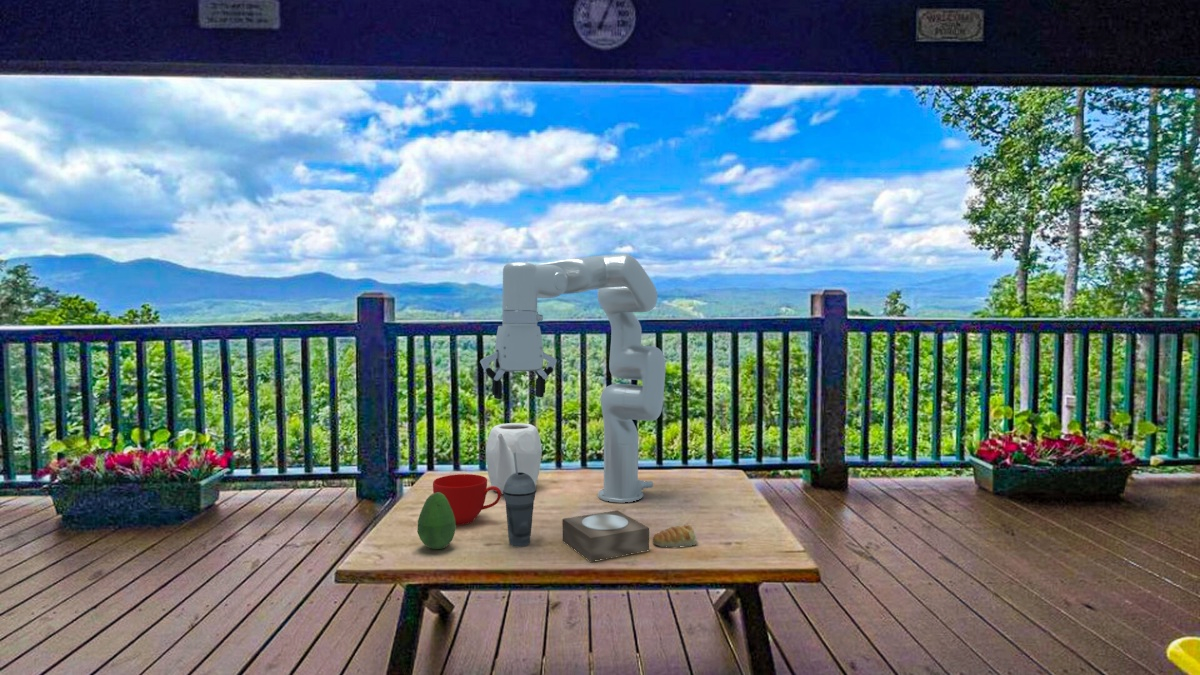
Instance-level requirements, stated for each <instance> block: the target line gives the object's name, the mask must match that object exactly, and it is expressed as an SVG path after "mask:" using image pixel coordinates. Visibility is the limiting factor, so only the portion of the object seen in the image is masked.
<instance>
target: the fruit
mask: <svg viewBox="0 0 1200 675" xmlns="http://www.w3.org/2000/svg"><path fill="white" fill-rule="evenodd" d="M456 529H457V525H456V523H455V517H454V514H453V511H452V509H451V507H450V504H449V502H448V500H447V498H446V497H445V495H444V494H442V493H440V492H436V493H431V494H430V495H429V496H428V497H427V498H426V499H425V502H424V504H423V506H422V509H421V510H420V513H419V516H418V519H417V531H416V532H417V535H418V537H419V539H420V541H421V542H422V544H424V546H426V547H428V548H430V549H433V550H442V549H444V548H447V546H449V544H451V542H452V541H453V539H454V537H455V534H456Z"/></svg>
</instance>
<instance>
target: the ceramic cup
mask: <svg viewBox="0 0 1200 675" xmlns="http://www.w3.org/2000/svg"><path fill="white" fill-rule="evenodd" d="M495 490H496V491H495ZM489 491H495V492H496V493H497V498H496V499H495V500H494V501H493V502H492V503H490V504H486V505H485V502H486V499H487V498H486V497H487V494H488V492H489ZM432 492H433V493H436V492H440V493H442V494H444V495H445V497H446V498H447V500H448V502H449V504H450V507H451V509H452V511H453V514H454V517H455V523H456V526H464V525H468V524H471V523H473V522H474V521H475V519H476V518H478V516H479V514H480V513H481V511H483V510H487V509H490V508H492V507H494V506H495V505H497V504H498V503H499V502H500V501H501V497H502V494H501V491H500V489H499V488H498V487H495V486H489V487H488V479H487V477H485V476H484V475H479V474H473V473H469V474H467V473H465V474H464V473H463V474H459V473H458V474H449V475H444V476H440V477H438V478H436V479H434V480H433V482H432ZM433 493H432V494H433Z"/></svg>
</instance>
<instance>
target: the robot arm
mask: <svg viewBox="0 0 1200 675" xmlns="http://www.w3.org/2000/svg"><path fill="white" fill-rule="evenodd" d="M594 290H597V300H598V303H599V305H600V307H601V309H602V310H603V312H604V313H605V314H606V315H605V316H606V317H607V319H608V321H609V323H610V324H609V325H610V329H611V331H610V332H611V335H610V348H609V349H610V350H609V361H608V362H609V364H608V365H609V372H610V374H611V376H612V377H614V378H617V379H622V380H633V381H642V382H641V383H642V384H641V385H639V384H628V383H613V384H609V385H608V386H606V387H605V388H604V389H603V391H602V392H601V395H600V407H601V412H602V417H603V418H602V419H603V438H604V439H603V489H600V490H599V491H598V493H597V494H598V495H597V497H598V498H599V499H600V500H602V501H604V502H608V501H609V502H610V503H616V504H617V503H620V504H626V503H625V502H628V503H634V502H633V501H635V502H637V501H636V500H639V499H641V498H642V497H643V498H644V492H643V490H644V489H651V488H653V487H654V483H653V480H643V479H642V480H641V479H639V433H638V429H637V426H636V425H635V423H634V421H633V420H635V421H646V422H652V421H657V419H658V418H659V417H660V416H661V413H662V410H663V408H664V406H663V404H664V396H665V395H664V392H665V381H666V380H665V379H666V359H665V354H664V353H663V351H662V350H661V349H660V348H659V347H656V346H652V345H642V326H641V323H640V321H639V319H638V317H637V316H636V315H635V314H634V313H648V312H651V311H653V309H654V308H655V307H656V305H657V302H658V291H657V288H656V286H655V284H654V282H653V281H652V279H651V278H650V276H649V274H647V272H646V271H645V269H644V267H643V266H642V265H641V264H640V262H639V261H638V260H637V259H636V258H635V257H634V256H632V255H630V254H627V253H622V254H621V253H620V254H619V253H618V254H616V253H615V254H603V255H602V254H601V255H593V256H586V257H585V256H584V257H576V258H575V257H574V258H570V259H569V258H568V259H562V260H556V261H552V262H545V263H534V264H533V263H531V262H517V261H516V262H515V261H514V262H508V263H506V264H505V265H503V268H502V317H501V318H502V325H498V327H497V332H496V336H495V345H494V346H495V347H494V352H493V353H491V354H489V355H487V356H485V357H484V358H481V359H480V361H479V363H480V364H481V367H482V369H483V371H484V373H485V374H486V375H487V376H488V377H489V378H490V379H491V381H492V382H491V383H492V384H491V388H492V389H491V390H492V391H491V394H492V396H493V397H494V399H496V400H501V399H502V398H503V397H502V396H503V382H502V380H501V378H502V377H503V375H504V374H505V373H506V372H510V373H511V372H534V374H535V375H536V376H537V378H536V379H535V396H536V397H538V398H544V396H545V395H544V394H545V393H546V380H547V379H548V377H549V375H551V373H553V371H554V368H555V366H556V364H557V358H555V357H554V356H552V355H549V354H548V353H546V352H544V346H543V337H542V330H541V326H540V325H539V326H538V323H539V322H540V321H543V319H544V316H543V314H539V311H538V299H553V298H558V297H560V296H562V295H563V294H579V293H584V292H588V291H594ZM544 361H546V362H547V365H546V367H545V368H543V367H544ZM492 362H493V364H494V365H493V366H494V368H495V370H493V369H492V368H491V366H490V363H492ZM643 498H642V499H643ZM642 499H641V500H642ZM639 501H640V500H639Z"/></svg>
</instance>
